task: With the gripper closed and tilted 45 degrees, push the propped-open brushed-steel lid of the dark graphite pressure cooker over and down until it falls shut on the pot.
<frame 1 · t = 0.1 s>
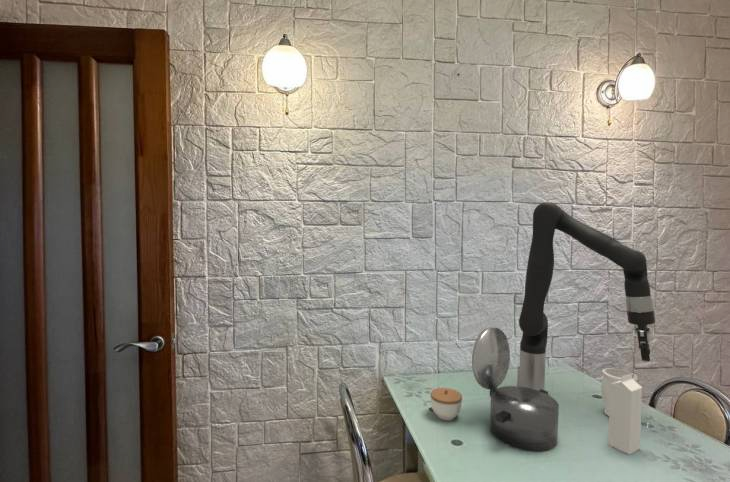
hand: (646, 357, 129), 22 cm above the table, tool pointing down, fingers open, 8 cm apart
milk: (623, 447, 115), on the table
lid: (490, 357, 131), point 21 cm above the table, hinge at 95.0°
jar: (618, 415, 135), on the table
cooker pot: (522, 433, 123), on the table
lidded jar: (445, 416, 133), on the table
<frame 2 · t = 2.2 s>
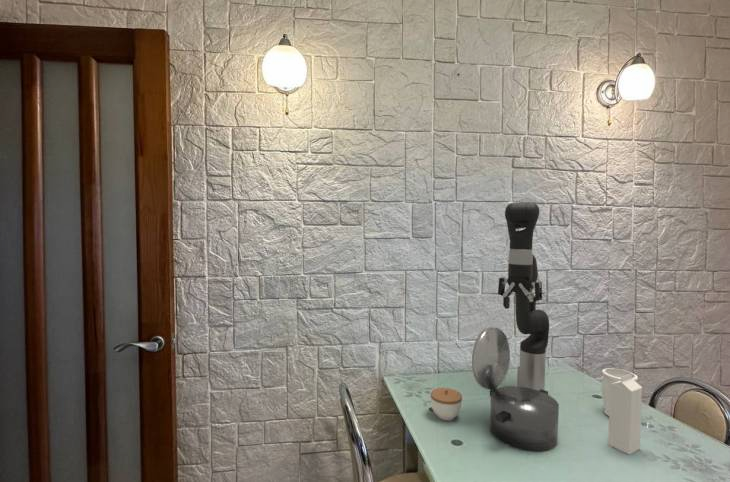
hand: (518, 310, 129), 38 cm above the table, tool pointing down, fingers open, 8 cm apart
nothing on the table moved.
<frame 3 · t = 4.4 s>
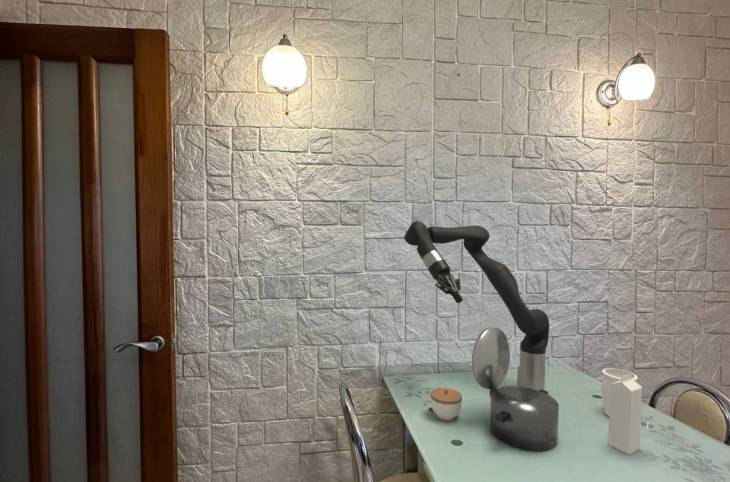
hand: (460, 301, 141), 38 cm above the table, tool tilted 45°, fingers closed
nothing on the table moved.
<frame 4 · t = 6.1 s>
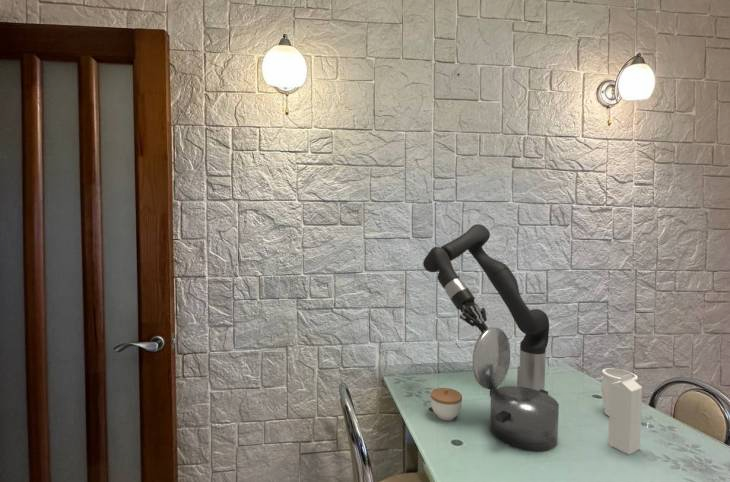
hand: (487, 334, 132), 29 cm above the table, tool tilted 45°, fingers closed
lid: (490, 357, 131), point 21 cm above the table, hinge at 93.9°, touching gripper
everything else where it was.
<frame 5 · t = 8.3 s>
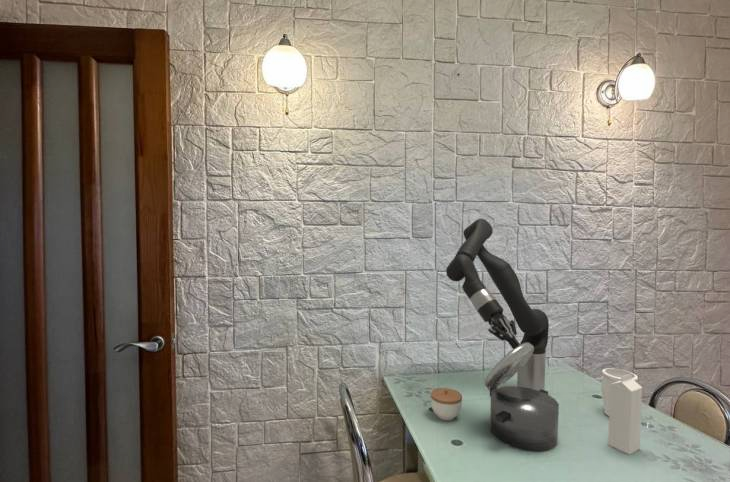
hand: (518, 349, 123), 27 cm above the table, tool tilted 45°, fingers closed
lid: (507, 365, 126), point 20 cm above the table, hinge at 57.4°, touching gripper
everything else where it was.
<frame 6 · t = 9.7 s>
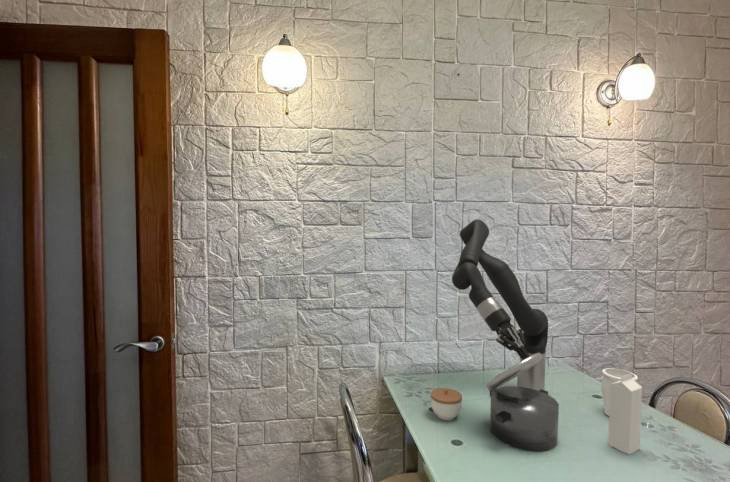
hand: (527, 359, 121), 24 cm above the table, tool tilted 45°, fingers closed
lid: (513, 370, 125), point 19 cm above the table, hinge at 45.0°, touching gripper
everything else where it was.
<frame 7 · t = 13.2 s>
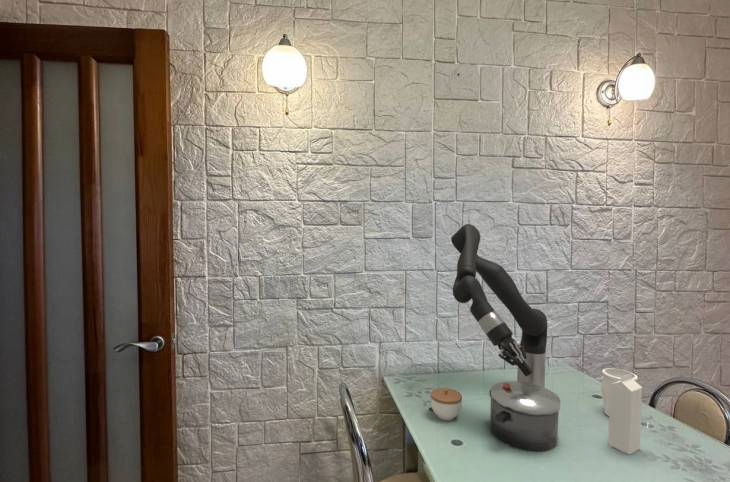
hand: (529, 374, 121), 20 cm above the table, tool tilted 45°, fingers closed
lid: (524, 395, 122), point 12 cm above the table, hinge at -0.1°
everything else where it was.
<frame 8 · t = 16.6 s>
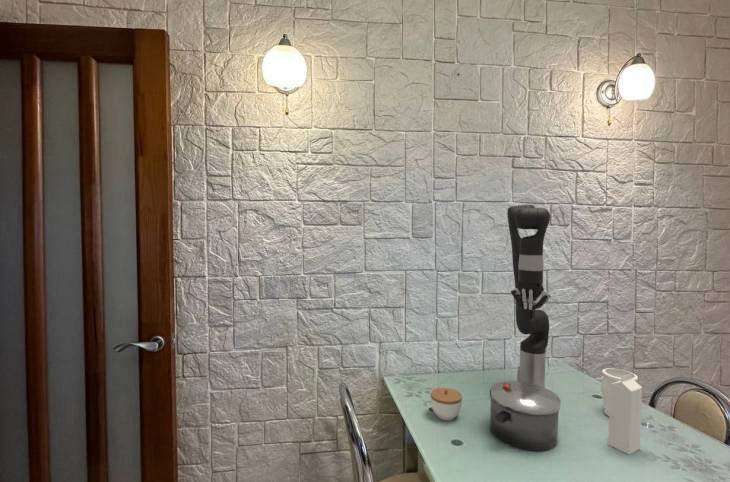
hand: (529, 320, 127), 35 cm above the table, tool pointing down, fingers closed
nothing on the table moved.
at the end: lid at +0° (first picture: +95°) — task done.
